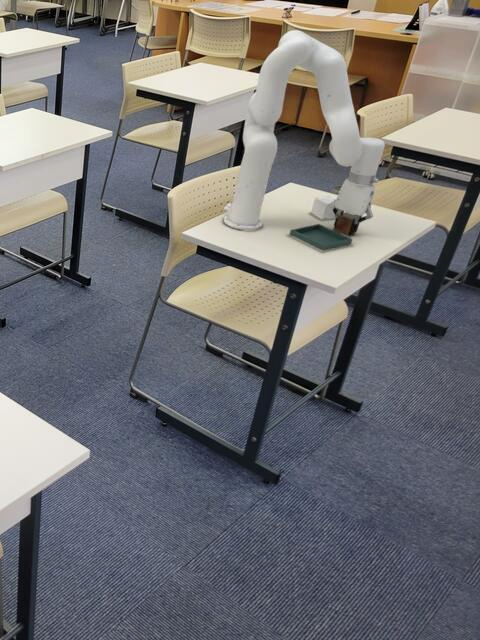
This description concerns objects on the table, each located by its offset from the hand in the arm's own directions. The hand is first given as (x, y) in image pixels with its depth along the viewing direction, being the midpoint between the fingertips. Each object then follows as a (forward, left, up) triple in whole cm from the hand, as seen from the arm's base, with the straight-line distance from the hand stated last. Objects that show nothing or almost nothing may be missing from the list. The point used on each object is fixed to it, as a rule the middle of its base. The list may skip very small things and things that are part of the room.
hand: (344, 230), depth 233 cm
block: (0, 0, -1) cm, 1 cm away
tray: (+1, -13, -1) cm, 13 cm away
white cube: (-14, +6, -1) cm, 15 cm away
